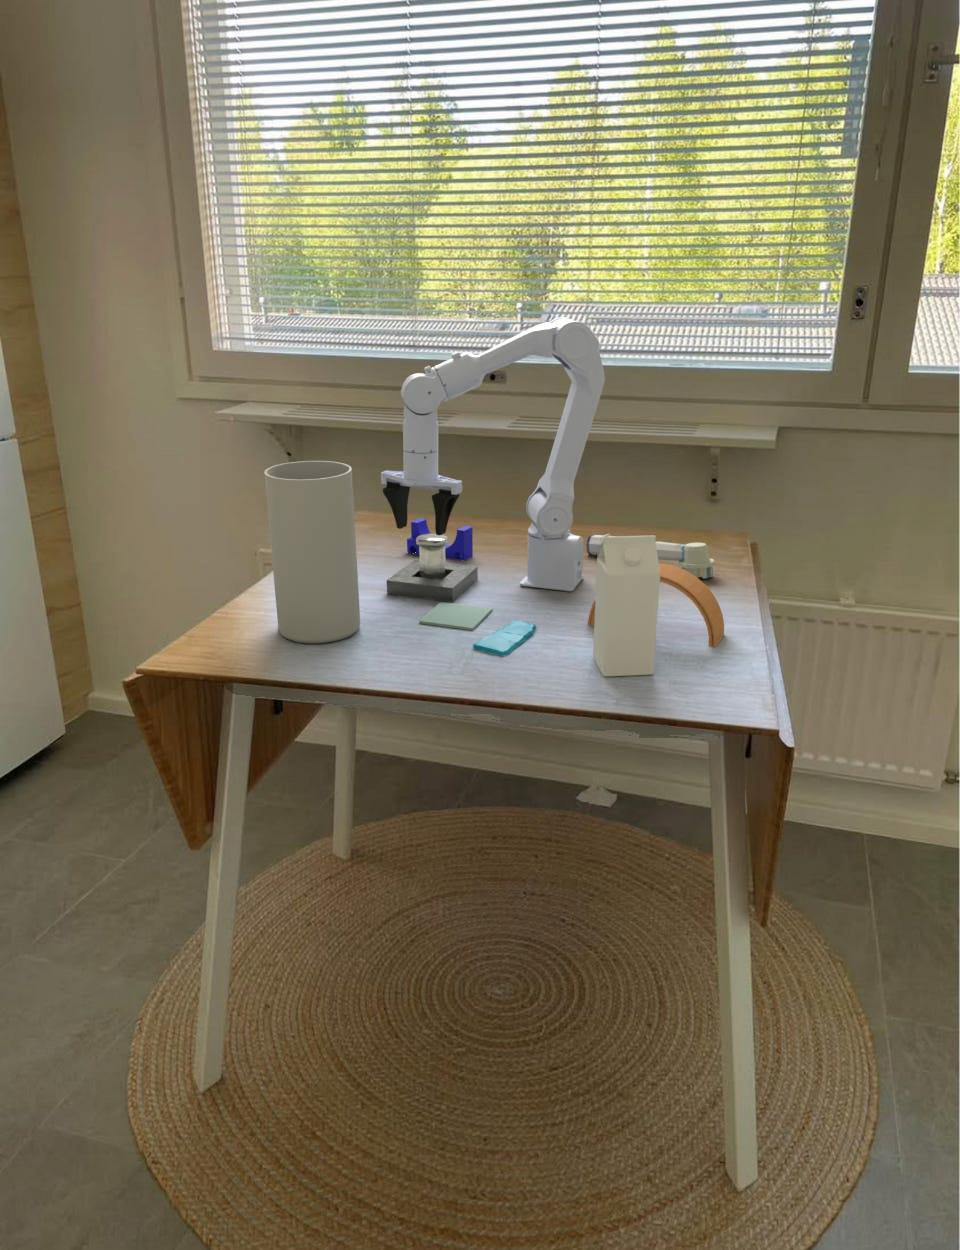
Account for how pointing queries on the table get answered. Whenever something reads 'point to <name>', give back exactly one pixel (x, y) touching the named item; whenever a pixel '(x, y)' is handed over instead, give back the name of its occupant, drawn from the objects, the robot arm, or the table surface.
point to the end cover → (432, 555)
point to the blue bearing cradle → (457, 550)
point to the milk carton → (626, 605)
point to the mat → (456, 616)
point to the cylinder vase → (313, 550)
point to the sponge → (506, 638)
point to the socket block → (432, 582)
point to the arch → (696, 593)
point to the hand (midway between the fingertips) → (421, 530)
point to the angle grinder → (671, 554)
